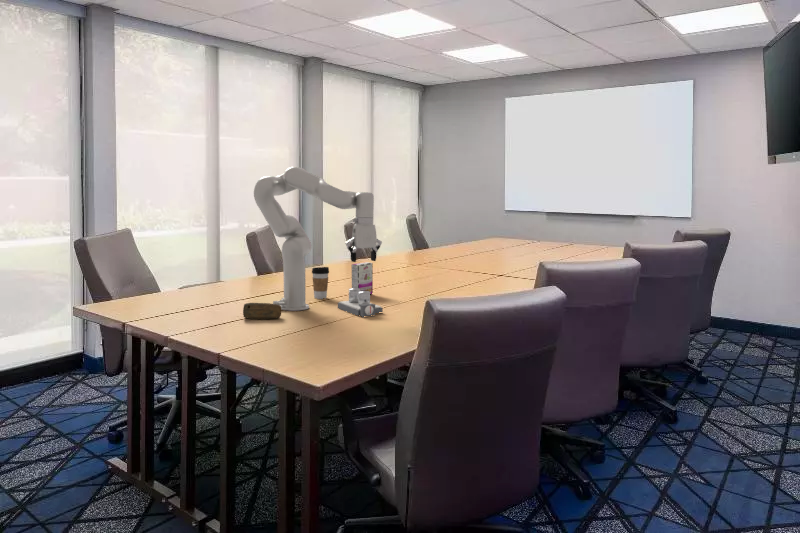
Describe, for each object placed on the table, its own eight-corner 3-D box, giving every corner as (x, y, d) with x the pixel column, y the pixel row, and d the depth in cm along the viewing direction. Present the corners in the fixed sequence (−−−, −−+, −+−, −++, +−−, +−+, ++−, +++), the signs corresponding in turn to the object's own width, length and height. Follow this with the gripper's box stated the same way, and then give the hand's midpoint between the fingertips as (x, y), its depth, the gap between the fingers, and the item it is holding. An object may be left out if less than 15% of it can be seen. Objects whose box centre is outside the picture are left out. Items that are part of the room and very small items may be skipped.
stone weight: (242, 321, 236) (242, 304, 235) (244, 317, 243) (244, 301, 242) (280, 320, 239) (280, 304, 238) (281, 316, 246) (281, 301, 245)
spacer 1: (352, 303, 260) (352, 290, 260) (346, 301, 265) (346, 288, 264) (361, 302, 263) (362, 289, 262) (356, 300, 267) (356, 287, 266)
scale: (362, 317, 246) (362, 306, 245) (337, 308, 265) (337, 297, 264) (386, 314, 252) (386, 303, 252) (361, 305, 271) (361, 295, 271)
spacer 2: (361, 307, 253) (362, 293, 252) (356, 304, 257) (356, 291, 256) (371, 306, 256) (372, 292, 255) (365, 304, 260) (366, 290, 259)
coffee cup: (327, 299, 285) (327, 268, 283) (310, 299, 285) (310, 268, 283) (330, 296, 293) (330, 266, 291) (313, 296, 293) (313, 266, 291)
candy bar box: (365, 293, 303) (365, 261, 301) (372, 294, 300) (373, 262, 298) (350, 296, 294) (351, 263, 292) (358, 297, 291) (358, 264, 289)
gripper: (350, 222, 244) (349, 263, 247) (386, 221, 254) (385, 261, 256) (342, 221, 251) (341, 261, 253) (377, 220, 260) (376, 259, 262)
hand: (363, 261), depth 254 cm, fingers open, 9 cm apart
